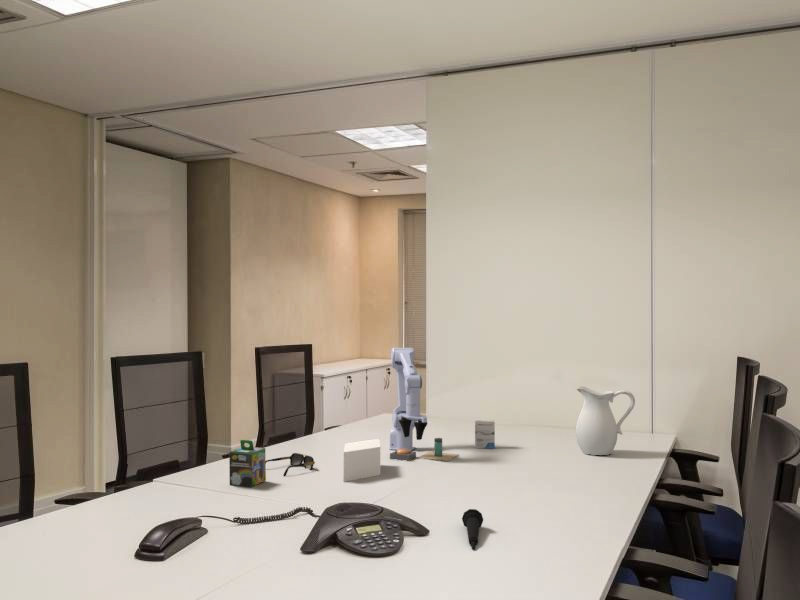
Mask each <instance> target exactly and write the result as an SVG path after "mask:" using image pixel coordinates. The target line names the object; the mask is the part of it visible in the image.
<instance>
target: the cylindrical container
mask: <svg viewBox="0 0 800 600" xmlns="http://www.w3.org/2000/svg"><path fill="white" fill-rule="evenodd" d="M434 452H435V456H437V457H440V456H442V453H443V438H442V437H435V438H434Z"/></svg>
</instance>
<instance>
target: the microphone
mask: <svg viewBox="0 0 800 600" xmlns="http://www.w3.org/2000/svg"><path fill="white" fill-rule="evenodd" d="M461 521H462V523H463V526H464V527H465V528H466V532H467V538H468V544H469V546H471V549H472V551H475V550H476V546H477V545H478V543H479V533H480V531H479V530H480V528H481V527H482V525H483V523H484V517H483V514H482V512H480V510H478V509H475V508H469V509H468V510H465V511H464V512H463V514H462V518H461Z"/></svg>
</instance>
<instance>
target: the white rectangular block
mask: <svg viewBox="0 0 800 600" xmlns="http://www.w3.org/2000/svg"><path fill="white" fill-rule="evenodd" d="M376 475H377V476H380V475H381V441H380V438H374V439H368V440H360V441H354V442H346V443H345V442H344V449H343V479H342V481H343V482H348V481H354V480H360V478H361V479H365V478H371V476H372V477H376Z"/></svg>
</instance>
